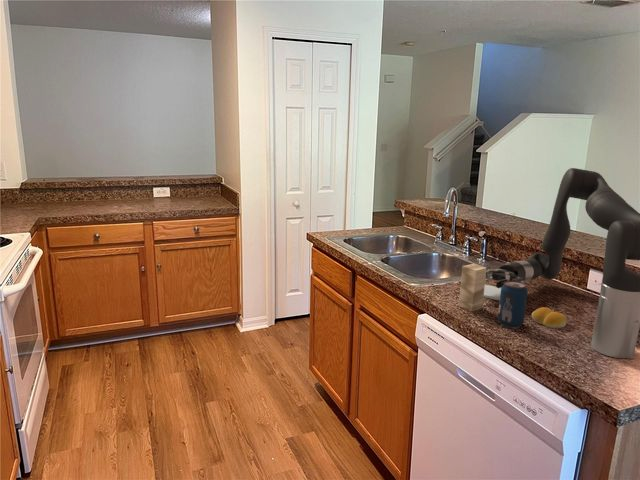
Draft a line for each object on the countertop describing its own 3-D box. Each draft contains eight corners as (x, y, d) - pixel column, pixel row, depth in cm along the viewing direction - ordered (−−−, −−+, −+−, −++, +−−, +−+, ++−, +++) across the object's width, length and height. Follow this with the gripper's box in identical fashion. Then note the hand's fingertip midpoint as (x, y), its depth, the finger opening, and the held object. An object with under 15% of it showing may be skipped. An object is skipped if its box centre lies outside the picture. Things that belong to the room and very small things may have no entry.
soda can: (520, 320, 138) (525, 281, 135) (525, 330, 131) (531, 289, 128) (495, 317, 139) (500, 278, 136) (499, 327, 132) (504, 286, 130)
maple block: (482, 308, 146) (486, 267, 143) (471, 311, 143) (476, 270, 140) (468, 303, 150) (472, 263, 147) (458, 306, 147) (462, 266, 144)
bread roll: (556, 331, 131) (558, 318, 130) (527, 320, 138) (528, 307, 137) (572, 325, 136) (574, 312, 135) (543, 314, 143) (545, 302, 142)
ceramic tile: (508, 291, 162) (508, 289, 161) (500, 300, 153) (501, 298, 153) (475, 284, 167) (476, 282, 167) (466, 293, 159) (466, 291, 158)
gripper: (498, 256, 162) (468, 263, 153) (537, 267, 151) (507, 275, 142) (496, 277, 164) (465, 285, 155) (534, 289, 153) (504, 299, 144)
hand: (485, 280), depth 148 cm, fingers open, 8 cm apart
